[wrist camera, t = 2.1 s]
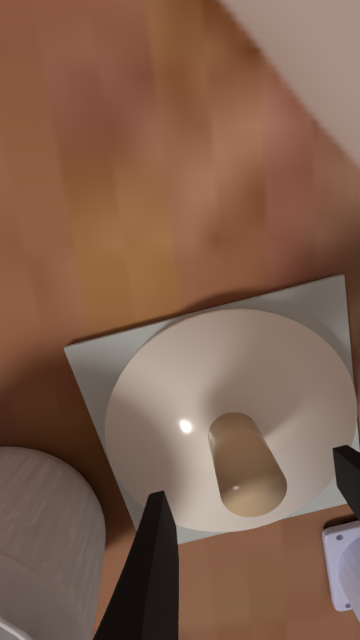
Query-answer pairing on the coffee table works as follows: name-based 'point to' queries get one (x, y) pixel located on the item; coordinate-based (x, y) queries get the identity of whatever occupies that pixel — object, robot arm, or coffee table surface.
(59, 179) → the coffee table surface
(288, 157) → the coffee table surface
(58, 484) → the ramekin
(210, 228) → the coffee table surface
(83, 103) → the coffee table surface
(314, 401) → the lid
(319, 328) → the mat
